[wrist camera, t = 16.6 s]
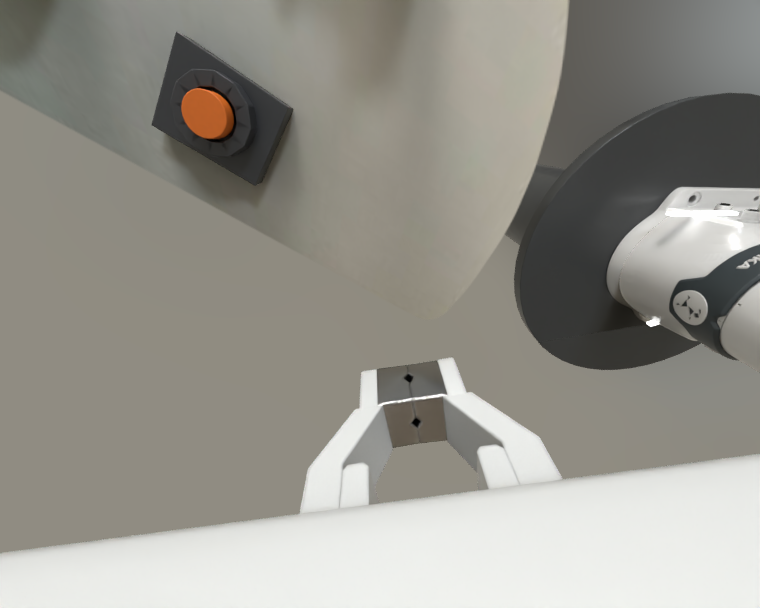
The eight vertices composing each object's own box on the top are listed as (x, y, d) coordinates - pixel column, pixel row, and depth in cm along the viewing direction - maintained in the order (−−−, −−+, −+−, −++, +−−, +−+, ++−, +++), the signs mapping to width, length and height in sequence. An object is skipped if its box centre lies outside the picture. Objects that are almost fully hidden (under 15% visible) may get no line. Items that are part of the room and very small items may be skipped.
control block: (293, 108, 31) (284, 105, 27) (261, 182, 34) (249, 188, 30) (189, 37, 28) (163, 24, 24) (164, 125, 31) (138, 124, 27)
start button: (240, 108, 28) (233, 106, 26) (226, 147, 29) (218, 147, 27) (198, 80, 26) (188, 77, 25) (185, 122, 28) (175, 122, 26)
